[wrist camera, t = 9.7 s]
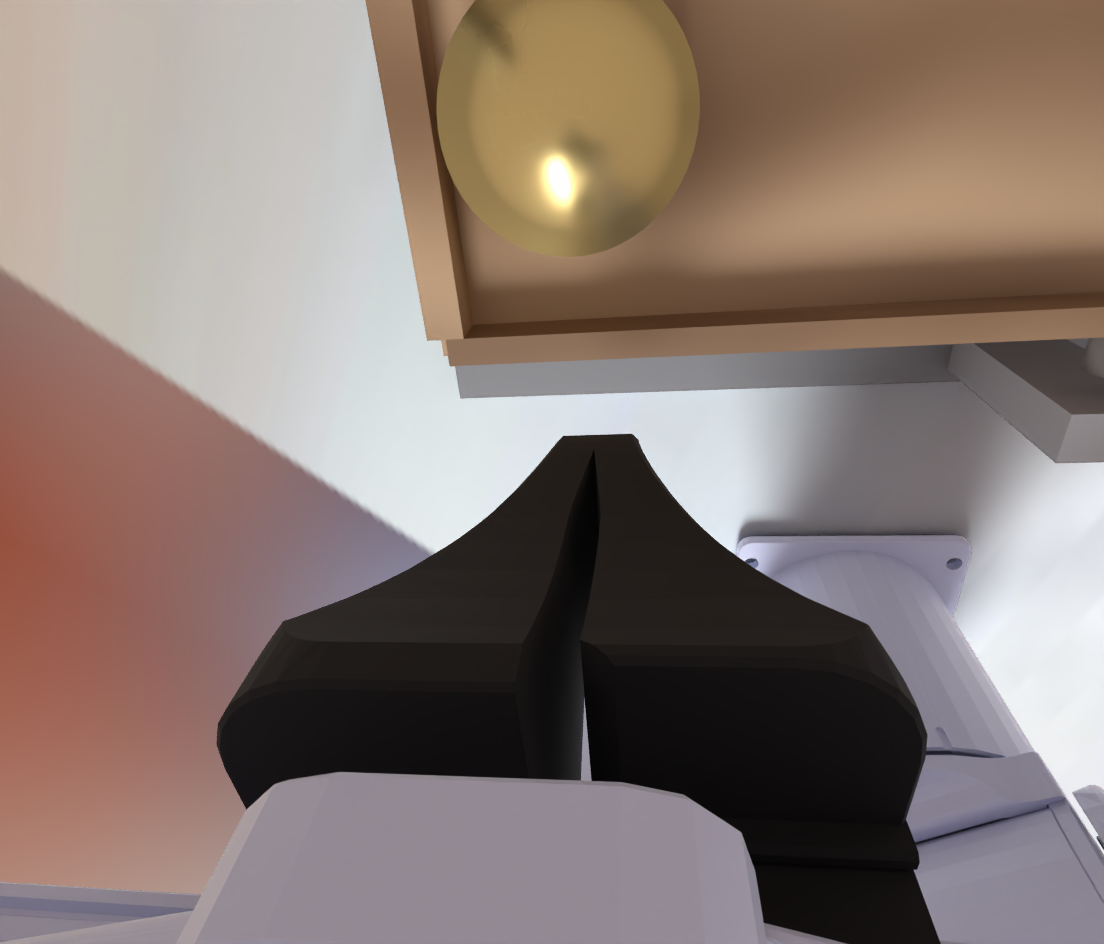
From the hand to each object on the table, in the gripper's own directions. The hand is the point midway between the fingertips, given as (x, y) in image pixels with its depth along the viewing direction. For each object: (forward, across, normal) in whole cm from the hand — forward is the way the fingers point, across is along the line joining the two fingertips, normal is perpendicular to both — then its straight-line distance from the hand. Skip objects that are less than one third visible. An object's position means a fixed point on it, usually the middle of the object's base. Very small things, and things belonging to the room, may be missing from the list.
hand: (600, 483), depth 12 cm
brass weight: (+4, 0, -6) cm, 7 cm away
